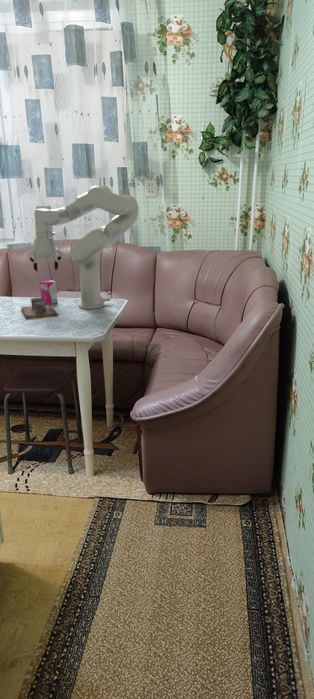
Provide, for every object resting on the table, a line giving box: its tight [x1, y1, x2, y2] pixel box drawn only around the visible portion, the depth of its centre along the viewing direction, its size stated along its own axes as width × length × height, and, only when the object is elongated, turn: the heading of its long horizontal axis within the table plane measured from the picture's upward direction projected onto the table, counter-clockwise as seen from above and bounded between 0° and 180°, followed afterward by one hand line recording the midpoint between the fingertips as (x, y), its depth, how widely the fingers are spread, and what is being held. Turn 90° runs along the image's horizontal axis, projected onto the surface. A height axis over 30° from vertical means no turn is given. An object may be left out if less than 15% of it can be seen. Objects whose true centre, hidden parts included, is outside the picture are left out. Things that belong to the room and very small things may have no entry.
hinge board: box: [21, 297, 59, 320], centre depth 239 cm, size 14×18×6 cm
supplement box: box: [39, 279, 59, 306], centre depth 256 cm, size 6×6×12 cm
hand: (46, 270), depth 253 cm, fingers open, 9 cm apart
